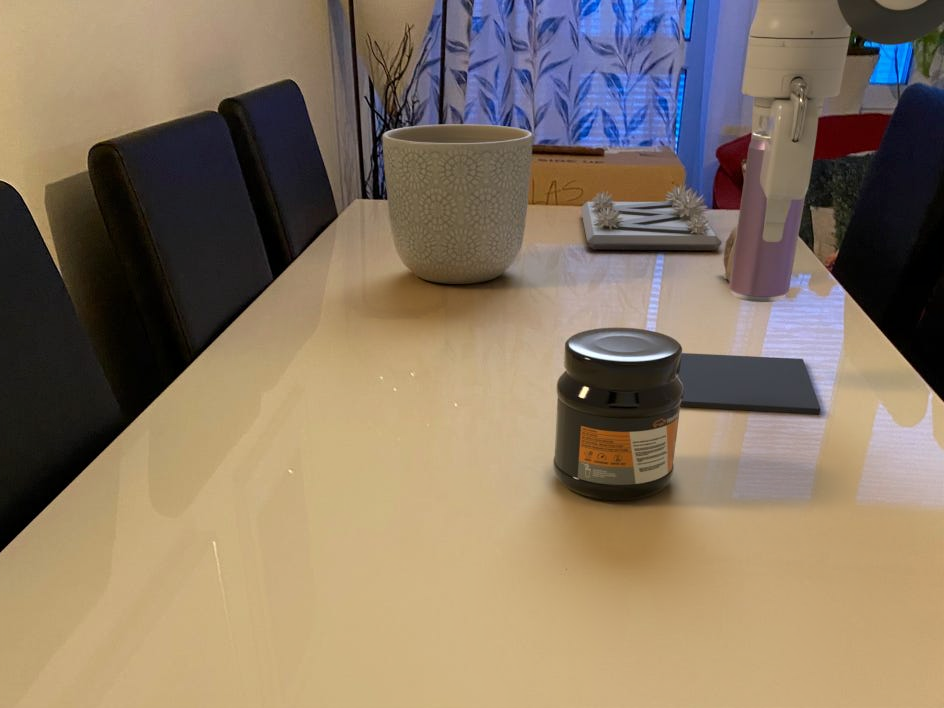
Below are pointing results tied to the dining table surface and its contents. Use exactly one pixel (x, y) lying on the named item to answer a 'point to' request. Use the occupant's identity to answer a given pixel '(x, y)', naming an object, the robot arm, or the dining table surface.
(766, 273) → the beverage can
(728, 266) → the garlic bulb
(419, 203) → the planter
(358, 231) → the dining table surface
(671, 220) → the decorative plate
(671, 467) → the supplement container
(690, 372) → the mat
